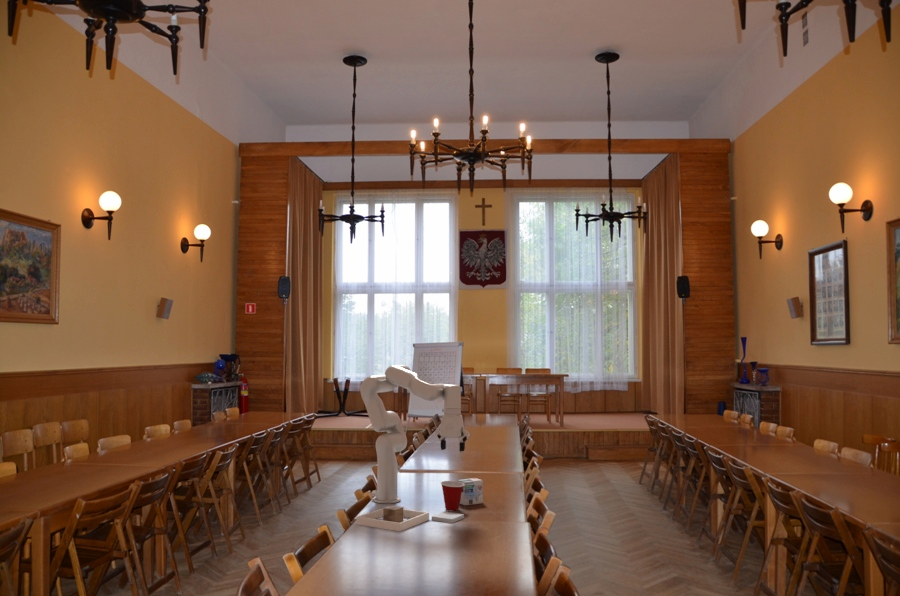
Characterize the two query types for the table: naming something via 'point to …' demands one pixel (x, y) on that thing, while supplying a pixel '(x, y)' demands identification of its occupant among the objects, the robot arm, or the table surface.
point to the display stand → (448, 517)
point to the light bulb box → (471, 491)
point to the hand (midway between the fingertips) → (452, 450)
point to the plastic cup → (452, 494)
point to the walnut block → (393, 514)
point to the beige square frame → (371, 521)
